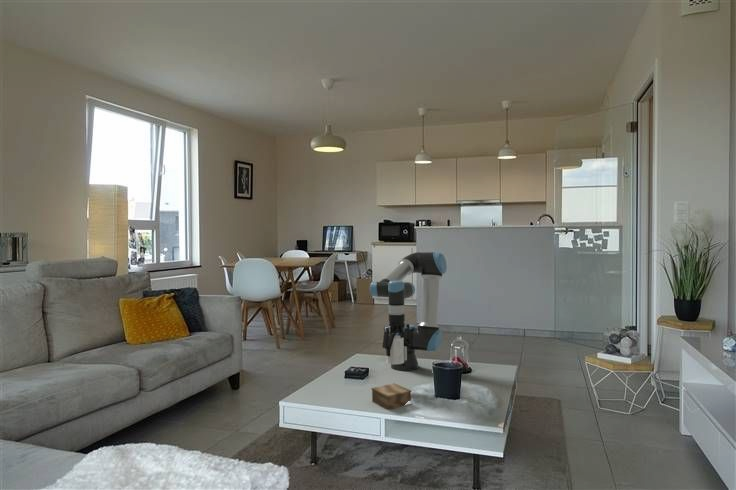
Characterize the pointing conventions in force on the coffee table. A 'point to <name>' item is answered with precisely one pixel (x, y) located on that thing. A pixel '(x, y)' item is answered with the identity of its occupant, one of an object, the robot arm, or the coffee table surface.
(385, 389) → the walnut box
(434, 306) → the robot arm
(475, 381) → the coffee table surface
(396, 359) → the mug
